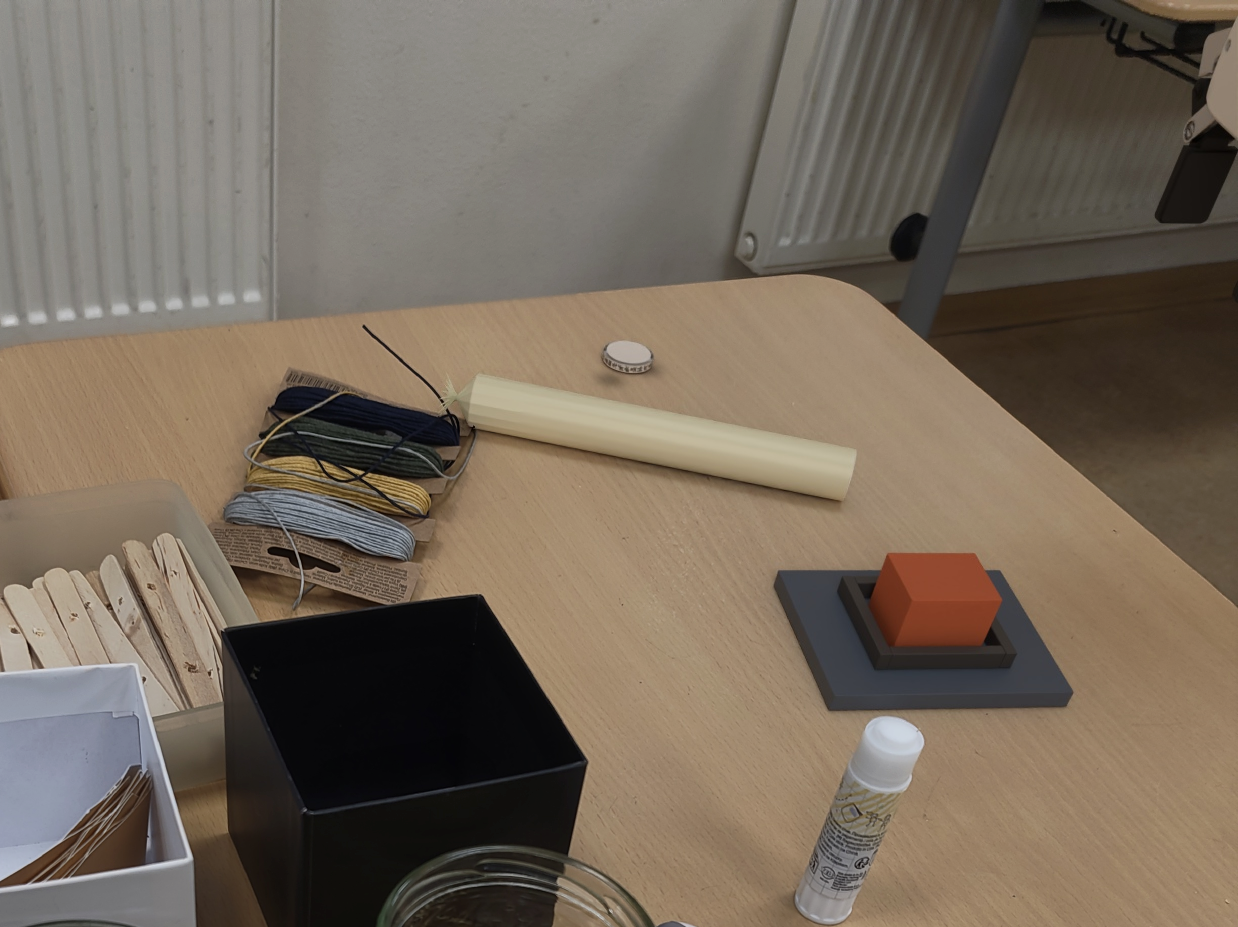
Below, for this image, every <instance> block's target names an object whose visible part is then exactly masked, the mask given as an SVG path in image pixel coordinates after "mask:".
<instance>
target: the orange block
mask: <svg viewBox="0 0 1238 927" xmlns="http://www.w3.org/2000/svg"><path fill="white" fill-rule="evenodd" d="M880 570H881V572H880V574H879V577H878V580H877V582H876V585H875V588H874V591H873V593H872V596H871V599H870V601H869V604H868V606H869V608H870V610H871V612H872V614H873V616H874V618H875V620H876V622H877V624H878V626H879V628H880V630H881V632H882V634H883V636H884V638H885V640H886V642H887V644H888V646H889V647H911V646H982V644H983V642H984V640H985V637H986V635H987V633H988V631H989V629H990V626H991V624H992V622H993V620H994V618H995V615H996V613H997V611H998V609H999V607H1000V604H1001V602H1002V598H1001V597H1000V595H999V593H998V591H997V590H996V588H995V586H994V585H993V583H992V581H991V580H990V578H989V576H988V575H987V573H986V571H985V570H986V569H985V567H984V566H983V565H982V563H981V561H980V559H979V558H978V556H977V554H976V553H975V552H887V553H886V555H885V558H884V561H883V564H882V566H881V569H880Z"/></svg>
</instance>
